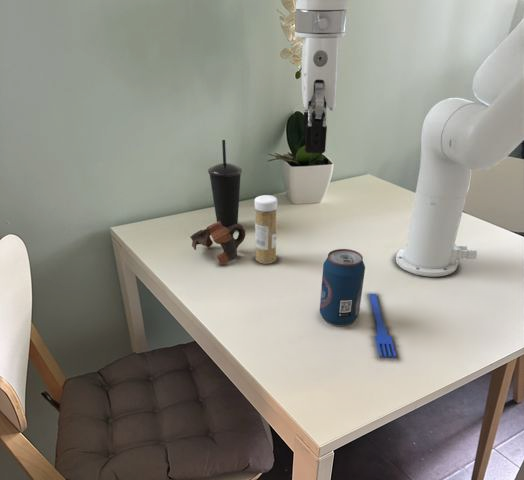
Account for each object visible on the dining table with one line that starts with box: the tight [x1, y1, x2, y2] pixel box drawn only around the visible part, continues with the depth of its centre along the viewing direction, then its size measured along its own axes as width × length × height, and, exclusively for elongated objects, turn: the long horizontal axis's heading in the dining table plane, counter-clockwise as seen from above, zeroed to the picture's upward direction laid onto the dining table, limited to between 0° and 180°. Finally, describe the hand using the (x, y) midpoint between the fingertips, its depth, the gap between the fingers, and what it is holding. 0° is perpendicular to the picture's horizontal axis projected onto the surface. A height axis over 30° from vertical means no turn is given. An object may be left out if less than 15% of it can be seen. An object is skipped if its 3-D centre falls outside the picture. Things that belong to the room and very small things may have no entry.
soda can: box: [319, 248, 366, 327], centre depth 87 cm, size 7×7×12 cm
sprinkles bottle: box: [254, 194, 278, 265], centre depth 104 cm, size 5×5×14 cm
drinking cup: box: [207, 139, 243, 227], centre depth 116 cm, size 8×8×20 cm
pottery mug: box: [189, 221, 247, 266], centre depth 109 cm, size 12×10×8 cm
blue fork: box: [368, 293, 397, 359], centre depth 88 cm, size 19×3×1 cm, turn 177°
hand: (313, 144), depth 85 cm, fingers open, 9 cm apart
